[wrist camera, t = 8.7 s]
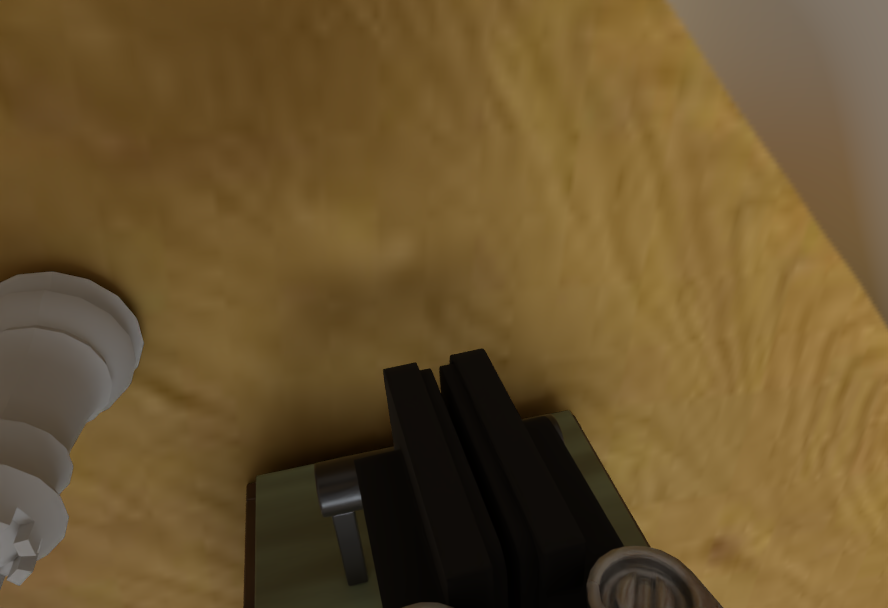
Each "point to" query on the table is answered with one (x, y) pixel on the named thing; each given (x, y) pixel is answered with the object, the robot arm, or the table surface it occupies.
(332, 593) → the drawer
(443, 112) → the table surface
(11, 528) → the rook chess piece
